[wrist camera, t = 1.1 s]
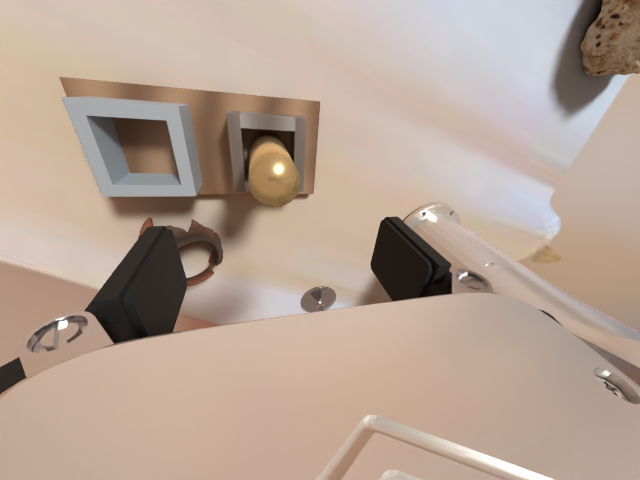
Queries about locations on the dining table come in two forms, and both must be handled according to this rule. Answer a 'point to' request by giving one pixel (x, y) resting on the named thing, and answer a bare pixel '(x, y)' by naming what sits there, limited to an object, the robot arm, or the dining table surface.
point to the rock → (613, 40)
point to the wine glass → (318, 299)
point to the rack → (108, 155)
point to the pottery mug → (194, 234)
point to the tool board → (211, 131)
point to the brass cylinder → (272, 171)
